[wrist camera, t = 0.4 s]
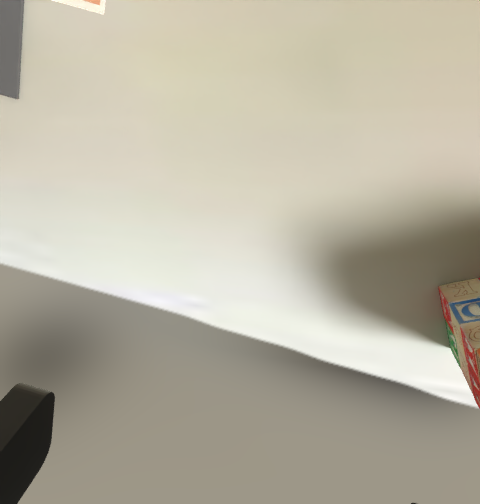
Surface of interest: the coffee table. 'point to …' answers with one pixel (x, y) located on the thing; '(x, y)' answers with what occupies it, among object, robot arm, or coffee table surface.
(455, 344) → the stack of blocks
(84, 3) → the tall block
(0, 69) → the mat
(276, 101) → the coffee table surface
